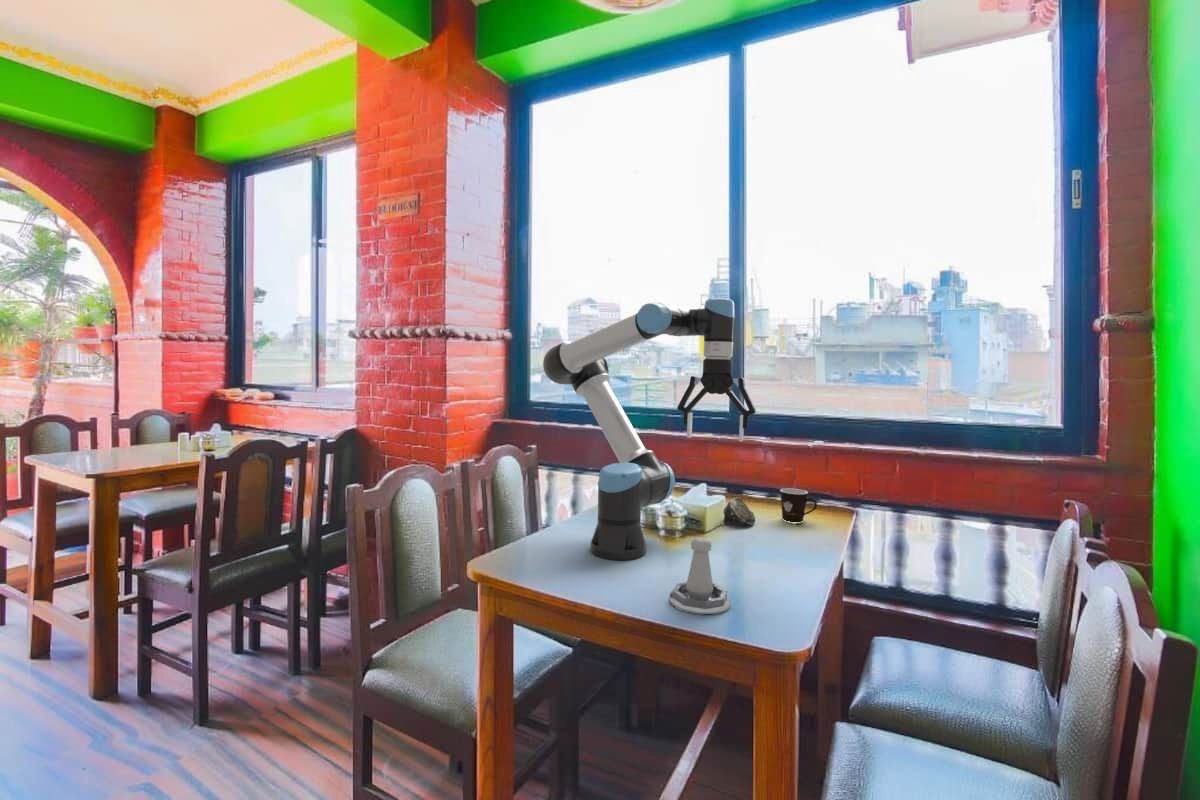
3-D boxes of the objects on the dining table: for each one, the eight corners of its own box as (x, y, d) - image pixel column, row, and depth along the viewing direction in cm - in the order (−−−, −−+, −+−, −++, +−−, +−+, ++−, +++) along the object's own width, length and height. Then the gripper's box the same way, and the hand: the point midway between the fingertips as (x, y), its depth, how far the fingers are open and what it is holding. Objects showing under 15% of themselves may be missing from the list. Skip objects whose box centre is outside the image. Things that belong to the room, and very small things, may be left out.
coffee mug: (773, 518, 200) (775, 489, 199) (795, 516, 202) (797, 487, 202) (794, 528, 189) (796, 497, 188) (817, 526, 191) (819, 495, 190)
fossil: (756, 528, 186) (742, 499, 186) (729, 538, 188) (715, 510, 188) (756, 518, 196) (743, 490, 196) (731, 528, 198) (717, 501, 199)
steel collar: (663, 608, 125) (663, 597, 125) (676, 586, 137) (677, 576, 137) (725, 619, 121) (725, 607, 121) (733, 595, 133) (734, 585, 133)
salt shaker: (692, 590, 133) (694, 533, 132) (716, 596, 130) (719, 538, 129) (681, 598, 128) (683, 539, 127) (706, 605, 125) (708, 544, 124)
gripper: (667, 357, 156) (665, 437, 158) (766, 359, 148) (762, 444, 149) (674, 357, 163) (671, 434, 165) (768, 359, 155) (764, 440, 156)
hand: (714, 439), depth 157 cm, fingers open, 13 cm apart
